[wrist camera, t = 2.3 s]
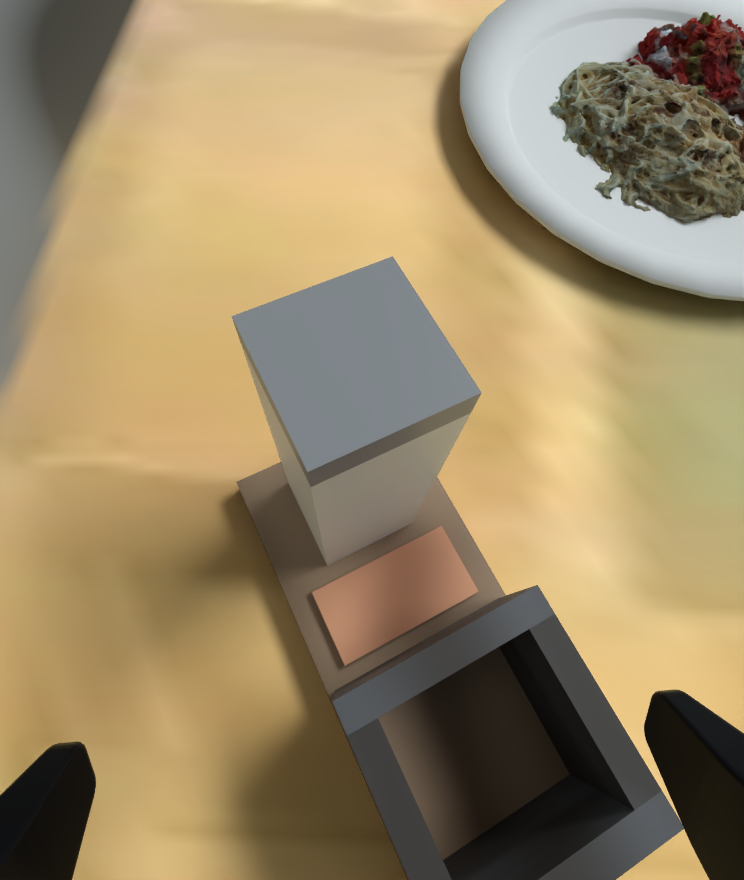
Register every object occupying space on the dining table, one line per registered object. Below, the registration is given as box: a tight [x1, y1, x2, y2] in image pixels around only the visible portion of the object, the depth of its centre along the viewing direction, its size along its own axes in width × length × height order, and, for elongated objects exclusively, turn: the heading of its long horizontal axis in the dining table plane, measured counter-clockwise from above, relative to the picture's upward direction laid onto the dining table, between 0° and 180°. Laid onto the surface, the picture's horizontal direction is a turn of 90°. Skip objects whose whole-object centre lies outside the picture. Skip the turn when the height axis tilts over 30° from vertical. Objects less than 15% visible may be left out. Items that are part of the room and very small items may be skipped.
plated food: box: [460, 0, 744, 301], centre depth 33 cm, size 30×30×3 cm
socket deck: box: [236, 462, 684, 880], centre depth 19 cm, size 8×17×6 cm, turn 27°
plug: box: [232, 257, 481, 566], centre depth 17 cm, size 4×4×12 cm
